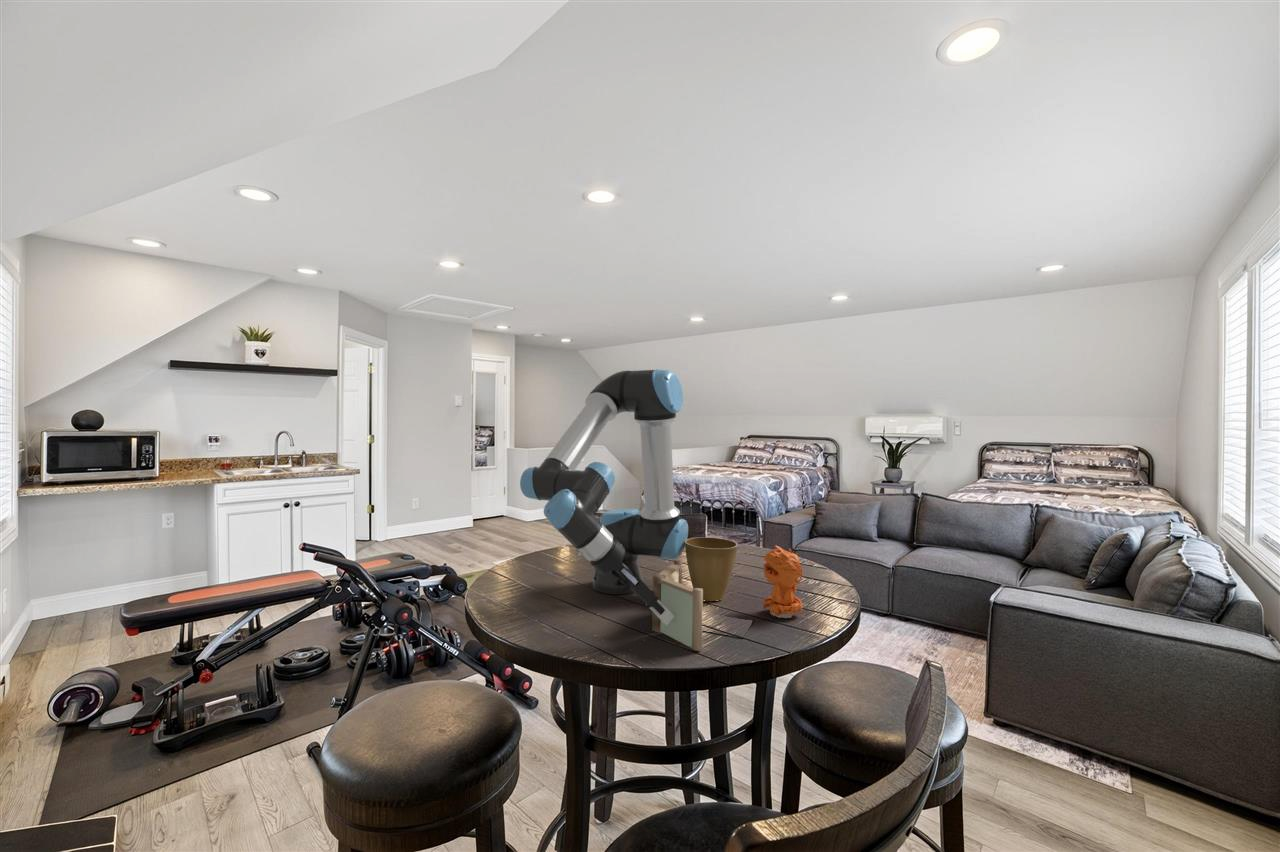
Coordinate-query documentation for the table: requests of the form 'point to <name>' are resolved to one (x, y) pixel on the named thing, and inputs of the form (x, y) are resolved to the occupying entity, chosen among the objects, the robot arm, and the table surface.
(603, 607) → the table surface
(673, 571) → the fence fixed
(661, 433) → the robot arm
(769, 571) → the orange figurine
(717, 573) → the plant pot
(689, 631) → the fence gate
